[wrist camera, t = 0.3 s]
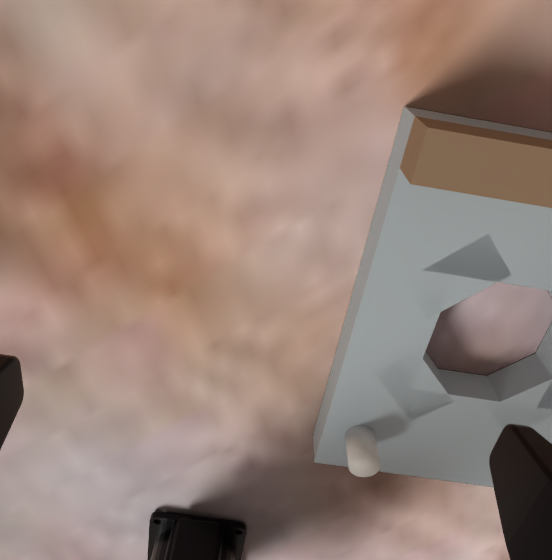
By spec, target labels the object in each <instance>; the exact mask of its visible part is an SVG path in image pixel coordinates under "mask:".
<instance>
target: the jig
mask: <svg viewBox="0 0 552 560" xmlns="http://www.w3.org/2000/svg"><path fill="white" fill-rule="evenodd" d="M497 282H500V283H506V284H512V285H519V286H525V287H531V288H538V289H544V290H548V291H549V293H550V295H551V297H552V133H551V132H546V131H540V130H535V129H529V128H523V127H518V126H512V125H506V124H501V123H495V122H489V121H484V120H478V119H472V118H467V117H461V116H455V115H450V114H444V113H439V112H433V111H427V110H422V109H416V108H410V107H405V106H404V109H403V113H402V116H401V120H400V123H399V127H398V131H397V134H396V138H395V141H394V145H393V149H392V152H391V156H390V159H389V163H388V167H387V170H386V174H385V177H384V181H383V185H382V188H381V192H380V195H379V199H378V203H377V206H376V210H375V213H374V217H373V221H372V224H371V228H370V231H369V235H368V239H367V242H366V246H365V249H364V253H363V257H362V260H361V264H360V267H359V271H358V275H357V278H356V282H355V285H354V289H353V293H352V296H351V300H350V303H349V307H348V311H347V314H346V318H345V322H344V325H343V329H342V332H341V336H340V340H339V343H338V347H337V350H336V354H335V358H334V361H333V365H332V368H331V372H330V376H329V379H328V383H327V386H326V390H325V394H324V397H323V401H322V404H321V408H320V412H319V415H318V419H317V422H316V426H315V430H314V433H313V448H314V463H321V464H328V465H336V466H343V467H349V470H350V472H351V473H352V474H353V475H355V476H358V477H370V476H373V475H375V474H376V473H377V472H378V471H379V472H386V473H394V474H401V475H408V476H415V477H423V478H430V479H437V480H444V481H452V482H459V483H466V484H474V485H481V486H488V487H494V486H493V481H492V476H491V472H490V466H489V457H490V453H491V451H492V449H493V447H494V445H495V443H496V441H497V439H498V437H499V435H500V434H501V432H502V430H503V428H504V427H505V426H506V425H507V424H518V425H525V426H529V427H531V428H533V429H534V430H535V431H537V432H538V433H539V434H540V435H542V436H543V437H544V438H545V439H546V440H548V441H549V442H550V443H551V444H552V323H551V325H550V327H549V329H548V331H547V333H546V334H545V336H544V338H543V340H542V342H541V344H540V346H539V348H538V350H537V352H536V353H535V354H533V355H531V356H528V357H526V358H524V359H522V360H520V361H518V362H516V363H513V364H511V365H509V366H507V367H505V368H503V369H501V370H498V371H496V372H494V373H492V374H490V375H488V376H483V375H477V374H470V373H463V372H457V371H450V370H443V369H438V368H437V367H436V365H435V364H434V363H433V361H432V360H431V358H430V357H429V355H428V354H427V353H426V348H427V346H428V343H429V341H430V338H431V336H432V333H433V330H434V328H435V325H436V323H437V320H438V318H439V315H440V312H442V311H443V310H445V309H447V308H449V307H451V306H453V305H455V304H457V303H459V302H461V301H463V300H464V299H466V298H468V297H470V296H472V295H474V294H476V293H478V292H480V291H482V290H484V289H485V288H487V287H489V286H491V285H493V284H495V283H497Z"/></svg>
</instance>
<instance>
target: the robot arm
mask: <svg viewBox="0 0 552 560" xmlns="http://www.w3.org/2000/svg"><path fill="white" fill-rule="evenodd" d="M23 395H24V389H23V381H22V373H21V366H20V361H19V359H18V358H17V357H15V356H10V355H3V354H0V449H1V447H2V445H3V443H4V441H5V438H6V436H7V434H8V432H9V430H10V428H11V425H12V423H13V421H14V419H15V417H16V415H17V412H18V410H19V408H20V406H21V404H22V400H23ZM489 466H490V472H491V476H492V481H493V486H494V491H495V495H496V500H497V505H498V510H499V515H500V519H501V524H502V529H503V534H504V538H505V542H506V546H507V549H508V553H509V556H510V560H552V444H551V443H550V442H549V441H548V440H546V439H545V438H544V437H543V436H542V435H540V434H539V433H538V432H537V431H535V430H534V429H533V428H531V427H529V426H525V425H518V424H507V425H506V426H505V427H504V428H503V430H502V432H501V434H500V435H499V437H498V439H497V441H496V443H495V445H494V447H493V449H492V451H491V453H490V457H489ZM246 530H247V526H246V525H245V524H244V523H241V522H234V521H226V520H218V519H211V518H203V517H195V516H188V515H180V514H172V513H165V512H154V513H152V515H151V518H150V526H149V544H148V560H241V555H242V551H243V546H244V541H245V537H246Z"/></svg>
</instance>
